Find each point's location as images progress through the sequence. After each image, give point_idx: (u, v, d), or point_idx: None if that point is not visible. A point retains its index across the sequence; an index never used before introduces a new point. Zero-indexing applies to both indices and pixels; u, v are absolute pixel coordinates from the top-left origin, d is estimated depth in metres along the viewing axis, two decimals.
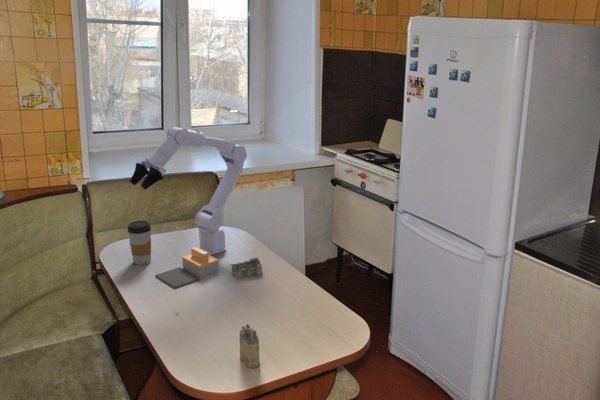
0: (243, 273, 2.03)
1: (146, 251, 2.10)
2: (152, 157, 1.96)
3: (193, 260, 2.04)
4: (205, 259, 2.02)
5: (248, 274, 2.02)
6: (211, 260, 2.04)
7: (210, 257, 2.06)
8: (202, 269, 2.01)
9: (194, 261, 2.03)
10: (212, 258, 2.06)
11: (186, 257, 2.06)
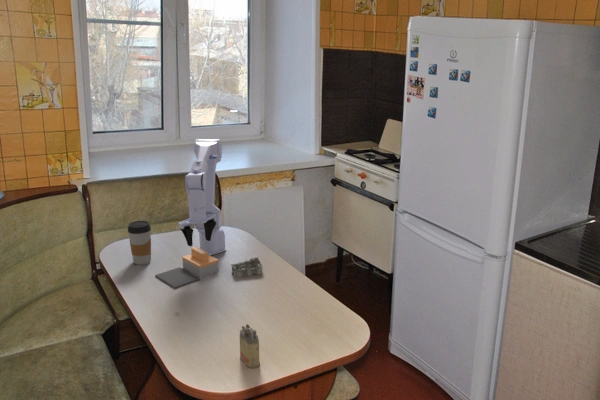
0: (243, 273, 2.03)
1: (146, 251, 2.10)
2: (203, 216, 1.99)
3: (193, 260, 2.04)
4: (205, 259, 2.02)
5: (248, 274, 2.02)
6: (211, 260, 2.04)
7: (210, 257, 2.06)
8: (202, 269, 2.01)
9: (194, 261, 2.03)
10: (212, 258, 2.06)
11: (186, 257, 2.06)
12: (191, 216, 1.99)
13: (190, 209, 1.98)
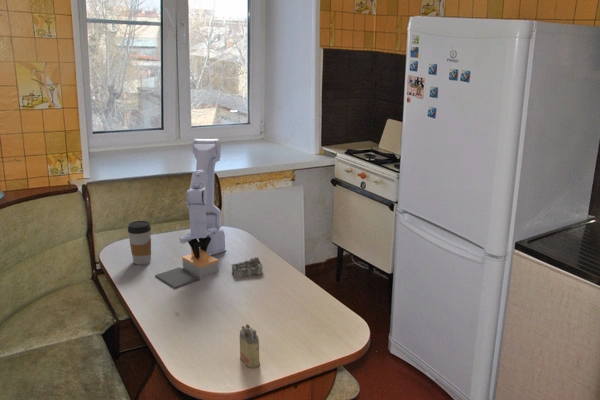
0: (243, 273, 2.03)
1: (146, 251, 2.10)
2: (204, 231, 2.01)
3: (193, 260, 2.04)
4: (205, 259, 2.02)
5: (248, 274, 2.02)
6: (211, 260, 2.04)
7: (210, 257, 2.06)
8: (202, 269, 2.01)
9: (194, 261, 2.03)
10: (212, 258, 2.06)
11: (186, 257, 2.06)
12: (192, 231, 2.00)
13: (191, 224, 2.00)
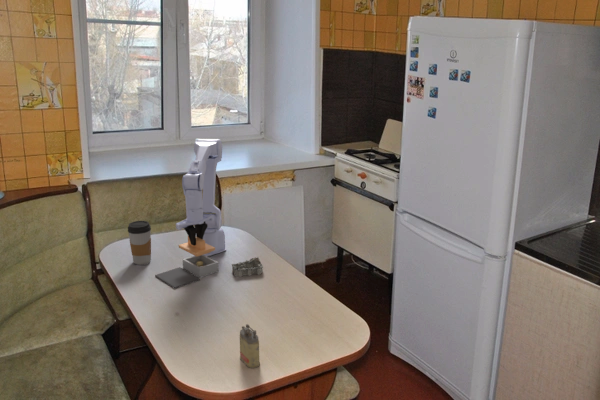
0: (244, 273, 2.03)
1: (146, 251, 2.10)
2: (200, 217, 1.98)
3: (189, 248, 2.01)
4: (202, 247, 2.00)
5: (249, 274, 2.02)
6: (208, 248, 2.01)
7: (207, 245, 2.04)
8: (202, 269, 2.01)
9: (190, 249, 2.00)
10: (208, 246, 2.04)
11: (182, 245, 2.04)
12: (188, 217, 1.98)
13: (187, 210, 1.97)
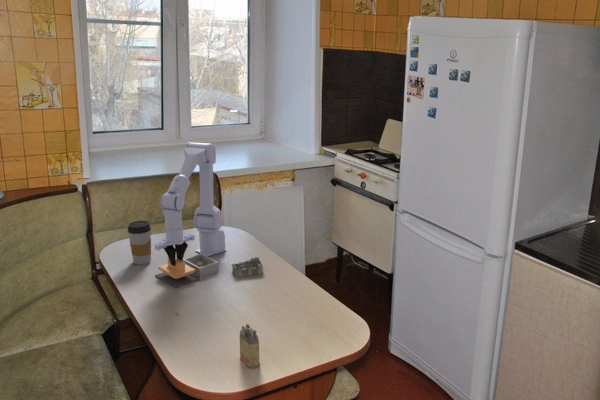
0: (244, 273, 2.03)
1: (146, 251, 2.10)
2: (180, 237, 1.94)
3: (169, 270, 1.97)
4: (181, 269, 1.96)
5: (249, 274, 2.02)
6: (188, 270, 1.97)
7: (187, 267, 2.00)
8: (202, 269, 2.01)
9: (170, 271, 1.96)
10: (188, 267, 1.99)
11: (162, 267, 2.00)
12: (168, 237, 1.93)
13: (166, 230, 1.93)
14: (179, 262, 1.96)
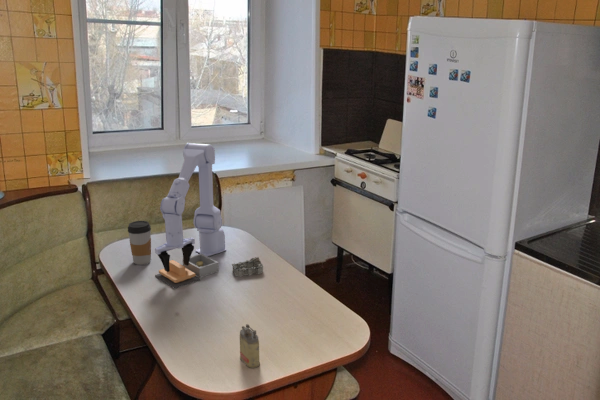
0: (244, 273, 2.03)
1: (146, 251, 2.10)
2: (180, 241, 1.94)
3: (169, 274, 1.98)
4: (182, 273, 1.96)
5: (249, 274, 2.02)
6: (188, 274, 1.98)
7: (187, 271, 2.00)
8: (202, 269, 2.01)
9: (170, 275, 1.97)
10: (189, 271, 2.00)
11: (162, 271, 2.00)
12: (168, 241, 1.94)
13: (167, 234, 1.93)
14: (179, 266, 1.97)
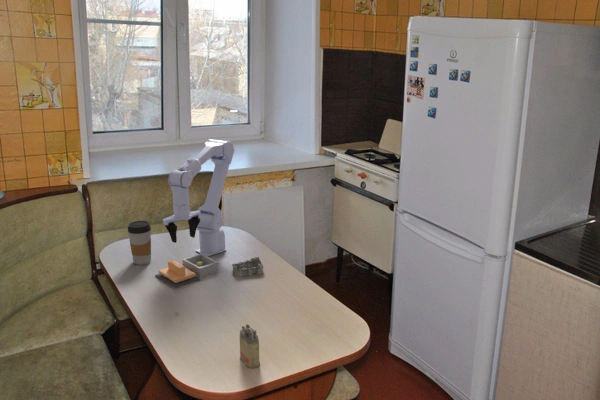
0: (244, 273, 2.03)
1: (146, 251, 2.10)
2: (187, 213, 2.03)
3: (169, 274, 1.98)
4: (182, 273, 1.96)
5: (249, 273, 2.02)
6: (188, 274, 1.98)
7: (187, 271, 2.00)
8: (202, 269, 2.01)
9: (170, 275, 1.97)
10: (189, 271, 2.00)
11: (162, 271, 2.00)
12: (175, 213, 2.02)
13: (174, 206, 2.02)
14: (179, 266, 1.97)
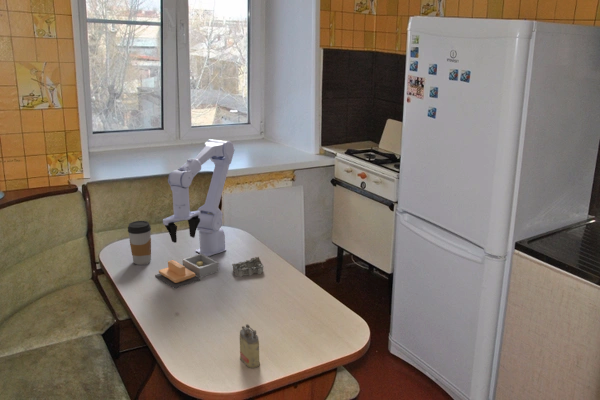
0: (244, 272, 2.03)
1: (146, 251, 2.10)
2: (187, 213, 2.03)
3: (169, 274, 1.98)
4: (182, 273, 1.96)
5: (249, 273, 2.03)
6: (188, 274, 1.98)
7: (187, 271, 2.00)
8: (202, 269, 2.01)
9: (170, 275, 1.97)
10: (189, 271, 2.00)
11: (162, 271, 2.00)
12: (175, 213, 2.02)
13: (174, 206, 2.02)
14: (179, 266, 1.97)
